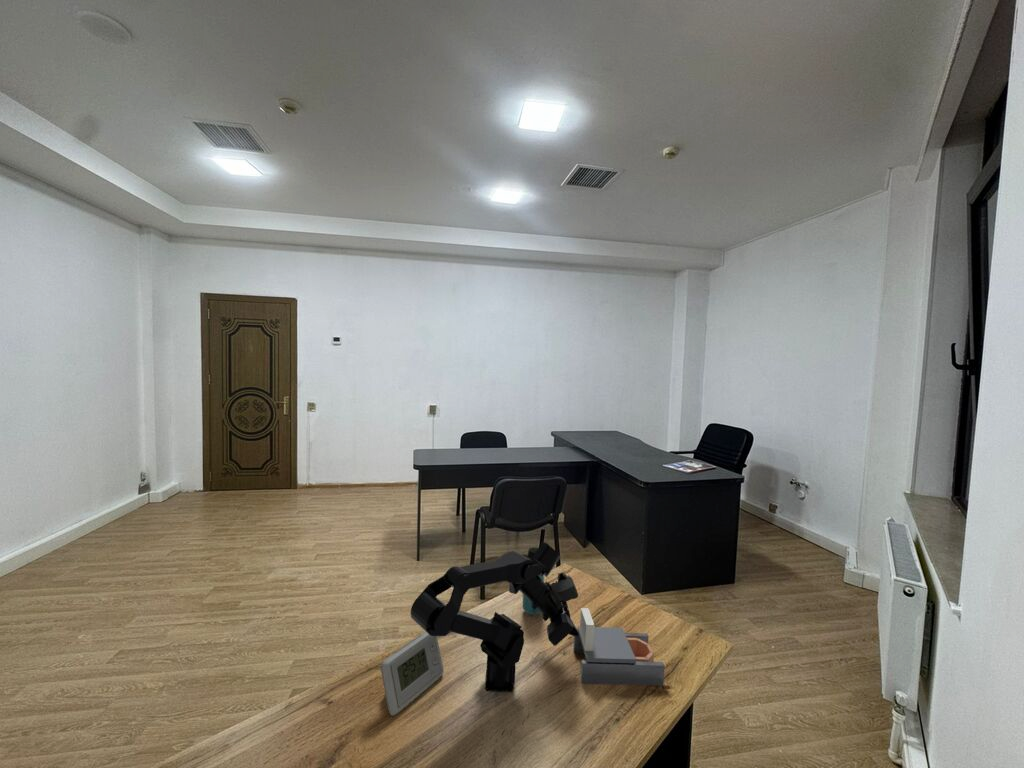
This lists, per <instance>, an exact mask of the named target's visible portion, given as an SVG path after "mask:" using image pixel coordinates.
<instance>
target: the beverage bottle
mask: <svg viewBox="0 0 1024 768" xmlns="http://www.w3.org/2000/svg"><path fill="white" fill-rule="evenodd" d="M538 548H539V547H530V548H528V550H527V551H528V553H527V556H528V557H530V558H532V556H533V555H534V553H535V552H536V551H537V549H538ZM538 576H539V575H538ZM539 577H540V578H541V580H542V581H543V582H544V581H545V580H544V578H545V575H543V576H539ZM544 583H545V582H544ZM521 600H522V603H521V604H522V609H523V611H524V612H526V613H528V614H531V615H536V614H541V612H540V611H539V610H538V609H537V608H536V609H535V610H534V609H533V608H532V606H531V602H530V601H529V600H528V599H527V598H526V597H525V596H524V595H523V594H522V599H521Z"/></svg>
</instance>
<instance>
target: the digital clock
mask: <svg viewBox="0 0 1024 768" xmlns="http://www.w3.org/2000/svg"><path fill="white" fill-rule="evenodd" d="M380 671H381V672H380V673H381V676H382V677H381V678H382V683H383V687H384V688H383V689H384V695H385V700H386V705H387V709H388V713H389V715H390V716H392V717H394V716H396V715H397V714H399V713H400V711H402V710H403V709H404V707H405V706H406V707H408V706H409V705H410V704H411V703H412V702H413V701H414V700H416V699H417V698H418V697H420V696H421V695H422V694H423V693H424V692H426V691H427V689H429V688H430V687H431V686H432V685H433V684H434V683H435V682H436V681H437V680H439V679H440V678H441V677H442V676H443V675H444V665H443V660H442V654H441V649H440V646H439V641H438V636H431V635H429V634H428V633H427V632H426V631H424V632H423V633H421V634H418V635H417V636H416V637H414V638H413V639H412V640H409V642H407V643H406V644H404V645H403V646H401V647H400V648H398V649H397V650H395V651H394V653H392V654H391V655H389V656H388V657H386V658H385V659H384V660H382V661H381V663H380ZM415 698H416V699H415ZM410 702H411V703H410ZM409 703H410V704H409ZM406 707H405V708H406Z"/></svg>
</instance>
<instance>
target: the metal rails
mask: <svg viewBox="0 0 1024 768" xmlns="http://www.w3.org/2000/svg"><path fill="white" fill-rule="evenodd" d="M624 633H625V636H626V638H638V639H640V640H642V641H644V642H646V643H648V644H649V634H648V633H644V632H643V633H641V632H639V633H637V632H624ZM572 642H573V643H572V645H573V646H572V651H573V653H581V654H582V653H583V654H584V650H583V647H582V643H581V640H580V636H579V635H577V636H573V641H572ZM580 666H581V669H580V670H581V671H580V683H581V684H582V685H583V684H584V685H585V684H587V685H588V684H590V685H623V686H624V685H625V686H628V685H629V686H661V687H664V684H665V683H664V681H665V680H664V679H665V667H666V666H665V663H664V662H663V661H653V662H641V661H636V663H606V662H587V661H586V659H581V665H580Z"/></svg>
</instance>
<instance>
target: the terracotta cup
mask: <svg viewBox="0 0 1024 768" xmlns="http://www.w3.org/2000/svg"><path fill="white" fill-rule="evenodd" d="M627 640H628V642H629V644H630V647H631V649H632V651H633V653H634V655H635V657H636V661H641V662H654V656H655V653H654V651H653V649H652V647H651V645H650V644H649V642H648V643H646V642H644V641H642V640H640V639H638V638H627Z"/></svg>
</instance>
